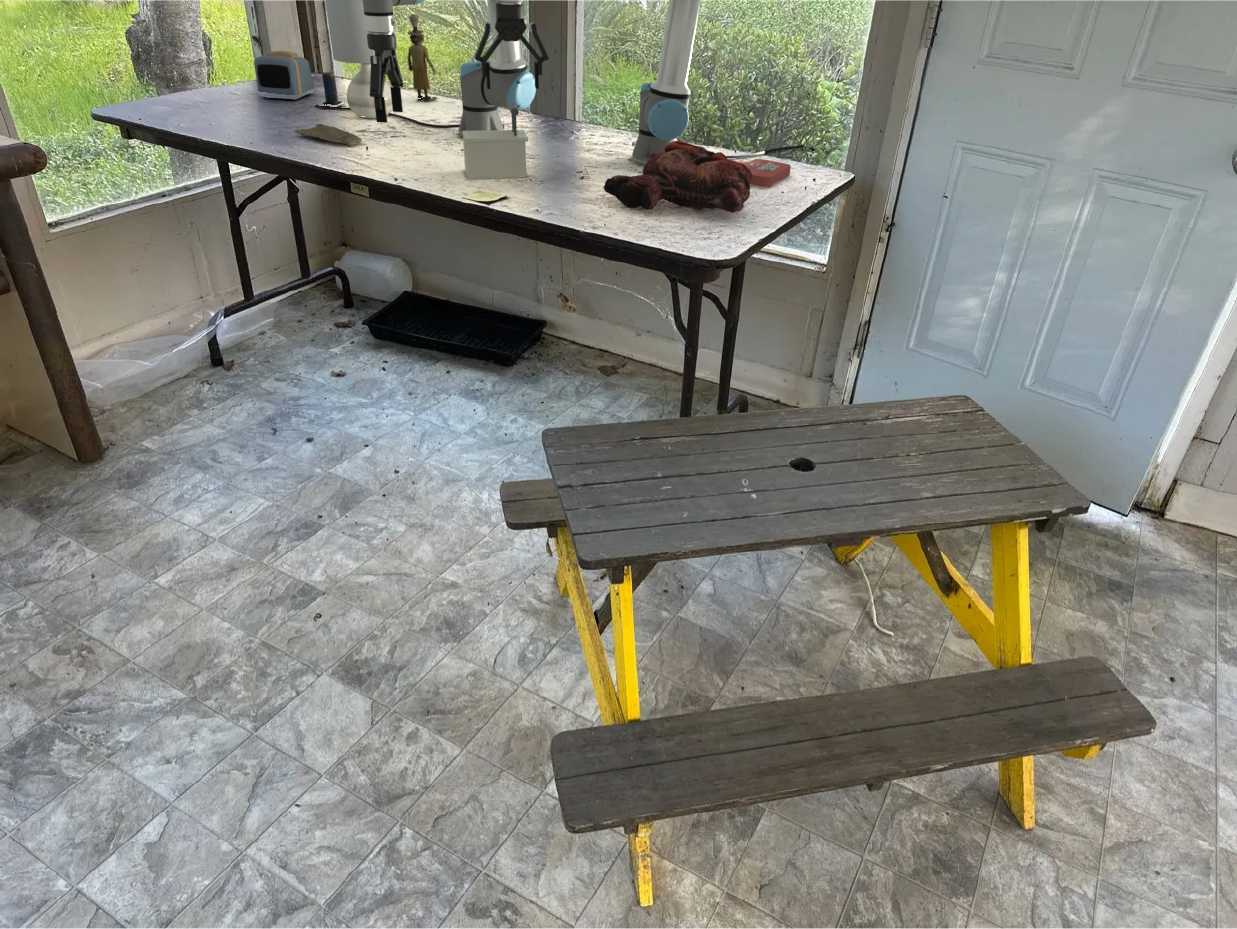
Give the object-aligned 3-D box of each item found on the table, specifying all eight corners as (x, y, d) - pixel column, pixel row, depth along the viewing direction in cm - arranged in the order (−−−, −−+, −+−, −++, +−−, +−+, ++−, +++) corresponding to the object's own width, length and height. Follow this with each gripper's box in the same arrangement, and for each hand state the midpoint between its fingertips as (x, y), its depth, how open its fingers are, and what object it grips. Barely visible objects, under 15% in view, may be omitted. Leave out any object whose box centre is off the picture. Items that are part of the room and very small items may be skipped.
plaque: (748, 154, 263) (793, 162, 256) (746, 167, 265) (791, 175, 258) (722, 166, 250) (769, 175, 244) (721, 179, 252) (767, 189, 246)
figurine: (443, 98, 335) (436, 13, 318) (431, 103, 327) (423, 15, 310) (418, 96, 337) (410, 11, 321) (406, 100, 330) (397, 13, 313)
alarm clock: (257, 98, 324) (248, 53, 316) (278, 90, 338) (270, 46, 329) (297, 101, 323) (289, 55, 314) (317, 93, 336) (310, 49, 327)
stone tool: (292, 135, 280) (343, 148, 268) (291, 126, 278) (342, 139, 267) (320, 129, 287) (370, 142, 276) (318, 120, 286) (369, 133, 274)
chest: (522, 168, 256) (521, 133, 251) (526, 177, 249) (525, 141, 243) (465, 170, 253) (462, 134, 247) (467, 179, 245) (465, 142, 240)
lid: (523, 133, 251) (522, 102, 246) (528, 141, 243) (527, 109, 238) (462, 134, 247) (460, 103, 243) (465, 142, 240) (462, 110, 235)
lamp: (416, 115, 310) (403, -11, 287) (372, 125, 294) (355, -7, 272) (373, 106, 319) (358, -16, 296) (328, 116, 304) (309, -13, 281)
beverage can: (339, 109, 314) (334, 74, 307) (318, 108, 314) (312, 73, 307) (346, 104, 321) (341, 69, 314) (325, 103, 321) (320, 69, 314)
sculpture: (769, 218, 227) (775, 169, 218) (687, 248, 212) (691, 197, 203) (663, 172, 252) (665, 126, 244) (583, 196, 237) (582, 148, 229)
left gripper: (378, 39, 216) (388, 127, 227) (409, 27, 236) (416, 108, 248) (350, 38, 216) (361, 125, 228) (382, 26, 237) (391, 107, 249)
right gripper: (463, 3, 222) (469, 90, 234) (557, 4, 227) (558, 90, 238) (461, 0, 228) (467, 85, 240) (553, 1, 233) (554, 84, 244)
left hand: (390, 117), depth 238 cm, fingers open, 13 cm apart
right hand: (512, 88), depth 239 cm, fingers open, 13 cm apart
